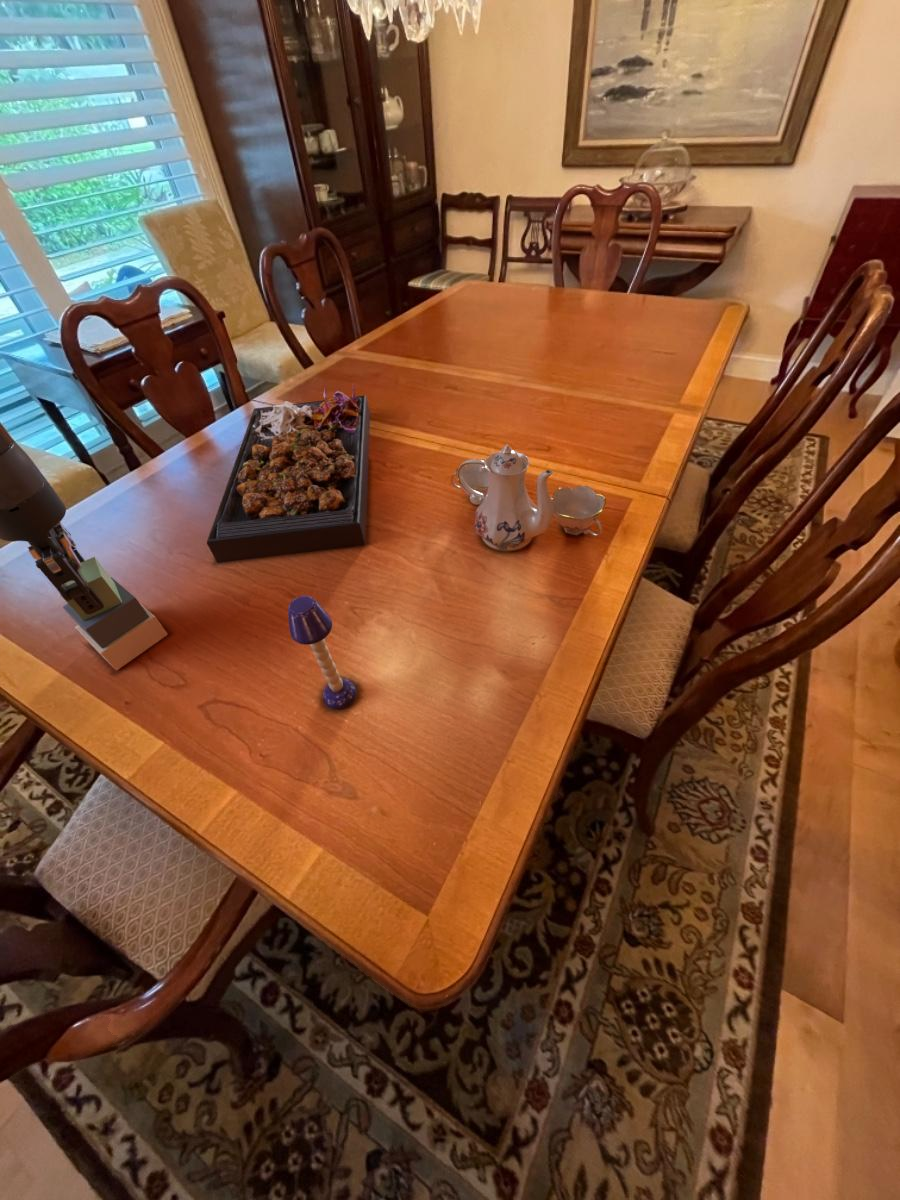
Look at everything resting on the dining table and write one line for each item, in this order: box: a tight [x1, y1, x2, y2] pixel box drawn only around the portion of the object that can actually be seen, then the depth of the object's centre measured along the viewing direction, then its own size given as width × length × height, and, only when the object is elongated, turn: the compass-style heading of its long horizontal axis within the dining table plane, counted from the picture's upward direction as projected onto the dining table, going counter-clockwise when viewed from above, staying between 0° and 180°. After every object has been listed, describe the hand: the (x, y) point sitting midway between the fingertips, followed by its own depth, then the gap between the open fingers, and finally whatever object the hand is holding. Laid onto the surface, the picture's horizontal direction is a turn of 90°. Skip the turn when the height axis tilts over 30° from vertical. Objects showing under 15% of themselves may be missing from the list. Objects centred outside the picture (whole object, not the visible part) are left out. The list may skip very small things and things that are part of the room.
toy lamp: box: [287, 595, 357, 710], centre depth 62 cm, size 5×5×17 cm
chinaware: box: [450, 444, 607, 553], centre depth 83 cm, size 28×17×17 cm, turn 62°
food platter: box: [206, 382, 371, 563], centre depth 100 cm, size 45×25×10 cm, turn 5°
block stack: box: [62, 576, 168, 671], centre depth 75 cm, size 8×8×8 cm
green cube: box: [59, 556, 122, 621], centre depth 70 cm, size 5×5×5 cm
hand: (89, 591), depth 70 cm, fingers open, 8 cm apart
